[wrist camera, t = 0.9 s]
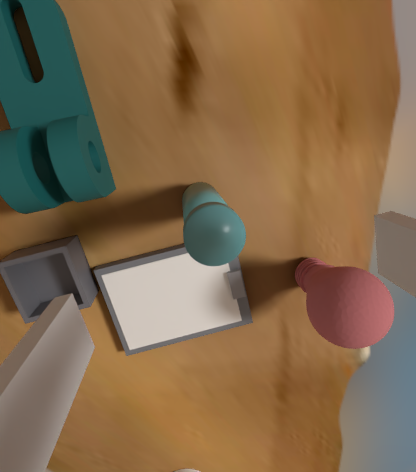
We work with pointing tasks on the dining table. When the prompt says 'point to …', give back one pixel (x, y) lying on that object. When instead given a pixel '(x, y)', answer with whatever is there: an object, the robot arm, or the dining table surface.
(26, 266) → the pen holder
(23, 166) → the bracket
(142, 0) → the dining table surface
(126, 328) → the clipboard
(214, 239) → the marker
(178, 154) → the dining table surface
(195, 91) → the dining table surface
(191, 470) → the cylindrical container
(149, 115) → the dining table surface
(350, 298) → the light bulb
